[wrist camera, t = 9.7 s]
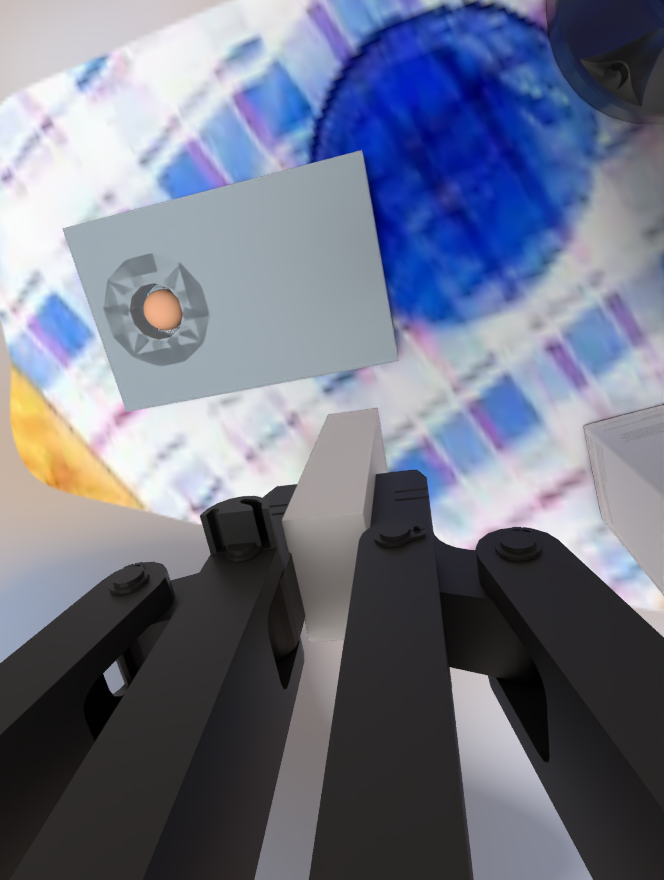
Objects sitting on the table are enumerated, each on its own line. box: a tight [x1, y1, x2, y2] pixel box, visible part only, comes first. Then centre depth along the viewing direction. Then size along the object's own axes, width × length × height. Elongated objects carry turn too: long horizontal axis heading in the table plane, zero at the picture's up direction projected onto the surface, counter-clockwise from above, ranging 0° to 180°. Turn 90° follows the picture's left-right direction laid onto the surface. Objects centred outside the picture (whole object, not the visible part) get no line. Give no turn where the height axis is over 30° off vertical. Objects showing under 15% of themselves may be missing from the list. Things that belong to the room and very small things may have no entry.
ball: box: [144, 290, 183, 330], centre depth 40 cm, size 3×3×3 cm
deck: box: [63, 150, 398, 412], centre depth 39 cm, size 22×14×2 cm, turn 102°
